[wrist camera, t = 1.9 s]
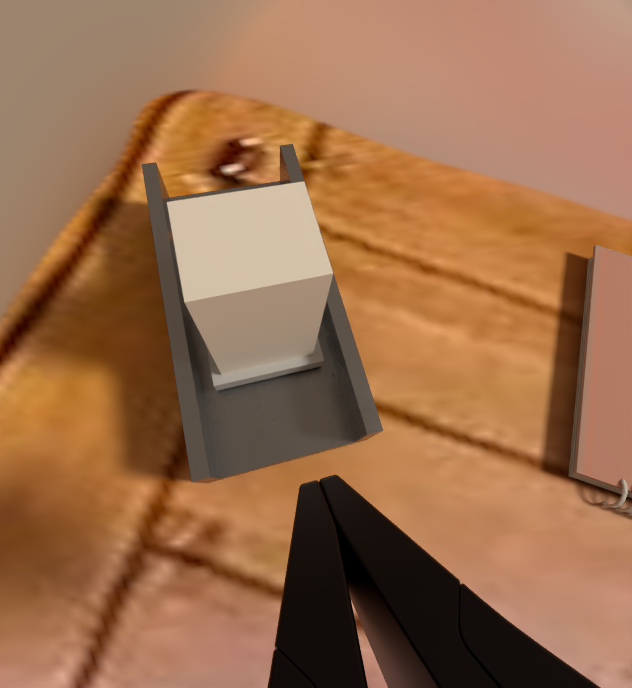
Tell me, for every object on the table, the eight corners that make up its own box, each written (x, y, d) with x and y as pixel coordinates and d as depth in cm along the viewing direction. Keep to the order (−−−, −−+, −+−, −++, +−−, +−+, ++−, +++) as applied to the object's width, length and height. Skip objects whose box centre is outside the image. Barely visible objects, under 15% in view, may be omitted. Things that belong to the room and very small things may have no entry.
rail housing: (366, 440, 23) (383, 430, 19) (207, 483, 21) (191, 482, 17) (290, 189, 28) (292, 144, 24) (161, 209, 27) (141, 164, 23)
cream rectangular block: (322, 365, 23) (351, 283, 13) (216, 390, 22) (170, 319, 12) (300, 289, 24) (313, 169, 15) (201, 309, 23) (150, 192, 14)
